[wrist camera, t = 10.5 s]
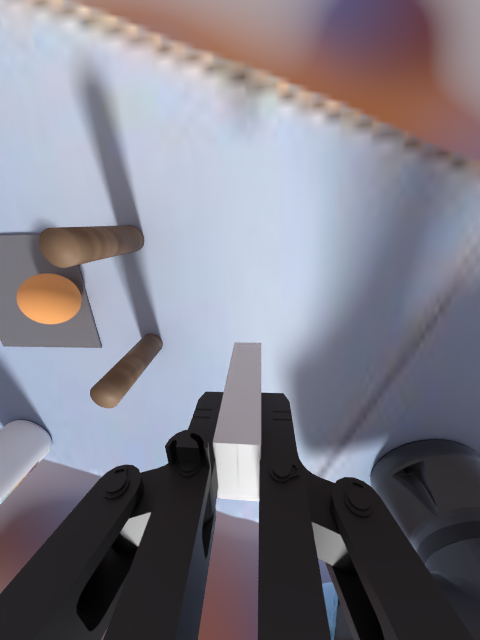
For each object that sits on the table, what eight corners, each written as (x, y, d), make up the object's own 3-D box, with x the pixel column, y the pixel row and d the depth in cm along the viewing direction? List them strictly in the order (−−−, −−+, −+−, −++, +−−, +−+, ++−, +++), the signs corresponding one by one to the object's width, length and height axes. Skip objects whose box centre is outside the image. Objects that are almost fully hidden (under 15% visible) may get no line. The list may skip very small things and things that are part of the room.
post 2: (160, 333, 29) (115, 385, 20) (163, 352, 30) (121, 408, 21) (140, 333, 30) (86, 384, 20) (144, 351, 31) (94, 407, 21)
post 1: (141, 225, 25) (70, 227, 15) (146, 250, 26) (81, 267, 16) (117, 225, 25) (33, 228, 16) (123, 251, 26) (46, 267, 17)
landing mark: (69, 233, 25) (67, 233, 25) (101, 347, 31) (101, 347, 31) (-46, 236, 27) (-49, 236, 27) (4, 345, 32) (3, 346, 32)
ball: (-2, 282, 21) (17, 270, 26) (19, 337, 23) (34, 317, 28) (71, 277, 23) (77, 267, 28) (84, 327, 26) (88, 310, 30)
